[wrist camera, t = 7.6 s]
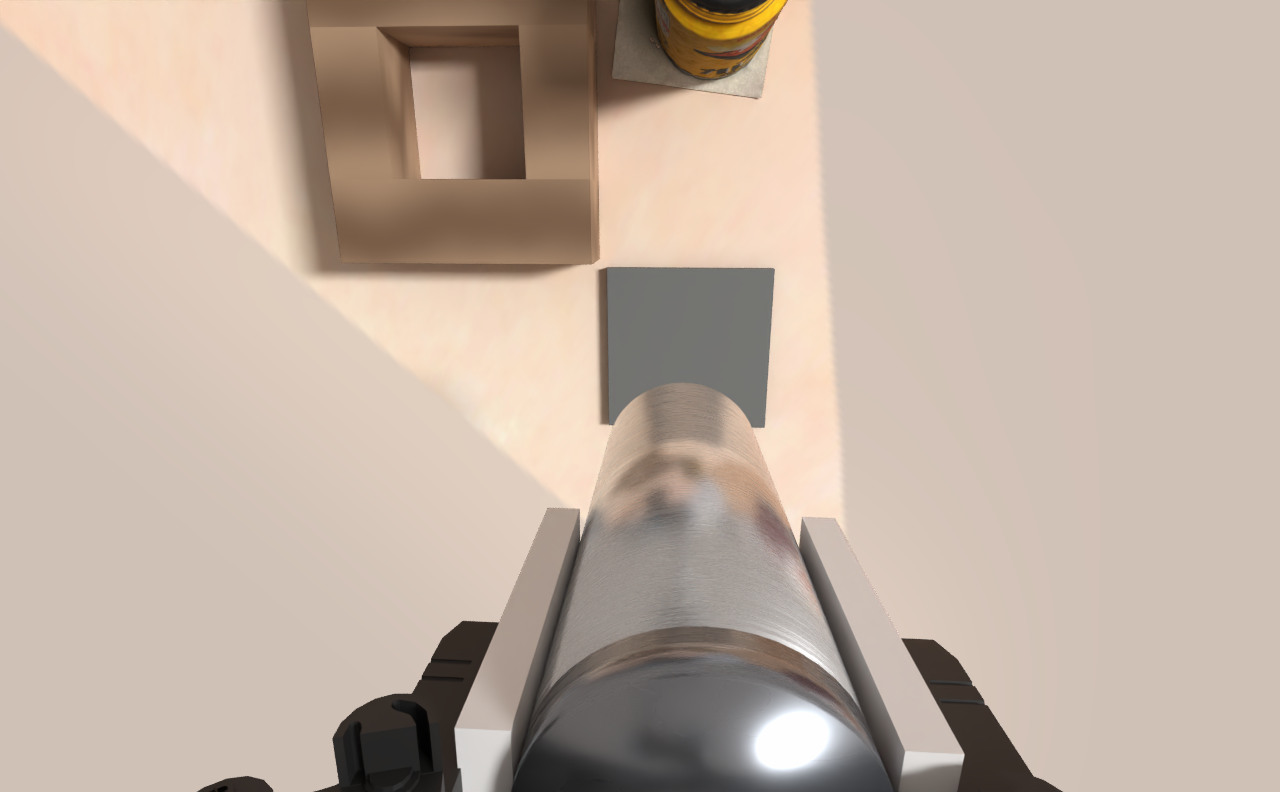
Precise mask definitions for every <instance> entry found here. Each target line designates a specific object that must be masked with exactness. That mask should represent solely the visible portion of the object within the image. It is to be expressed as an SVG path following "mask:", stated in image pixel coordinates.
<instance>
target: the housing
mask: <svg viewBox="0 0 1280 792" xmlns="http://www.w3.org/2000/svg"><path fill="white" fill-rule="evenodd" d="M306 5H307V12H308V20H309V27H310V34H311V42H312V49H313V57H314V64H315V71H316V79H317V86H318V94H319V101H320V108H321V116H322V123H323V130H324V138H325V145H326V153H327V160H328V167H329V175H330V182H331V190H332V197H333V204H334V212H335V219H336V227H337V234H338V241H339V249H340V256H341V263H442V264H593V263H595V262H596V261H597V260H599V259H600V246H599V185H598V123H597V62H596V1H595V0H306ZM444 46H520V63H521V84H522V105H523V125H524V146H525V167H526V179H421V175H420V165H419V154H418V143H417V133H416V122H415V112H414V101H413V91H412V80H411V70H410V59H409V49H408V47H444Z"/></svg>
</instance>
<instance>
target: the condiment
mask: <svg viewBox="0 0 1280 792" xmlns="http://www.w3.org/2000/svg"><path fill="white" fill-rule="evenodd" d="M787 1H788V0H620V3H619V13H618V16H619V18H618V23H617V33H616V41H615V52H614V60H613V70H612V78H613V79H621V80H629V81H635V82H644V83H651V84H659V85H667V86H673V87H680V88H687V89H694V90H702V91H709V92H717V93H724V94H731V95H739V96H746V97H755V98H762V91H763V85H764V80H765V74H766V68H767V61H768V55H769V49H770V44H771V37H772V31H773V26H774V23H775V21H776V19H777V18H778V15H779V14H780V12H781V10H782V9H783V7H784V6H785V5H786V3H787ZM650 37H652V38H653V39H654V43H652V42H651V41H650ZM656 44H659V46H660V48H657V47H656Z"/></svg>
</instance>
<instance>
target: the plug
mask: <svg viewBox="0 0 1280 792" xmlns="http://www.w3.org/2000/svg"><path fill="white" fill-rule="evenodd" d="M511 792H894V791H893V788H892V785H891V783H890V780H889V778H888V775H887V773H886V770H885V768H884V765H883V762H882V760H881V757H880V755H879V752H878V750H877V747H876V744H875V742H874V739H873V737H872V734H871V732H870V729H869V727H868V724H867V721H866V719H865V716H864V714H863V711H862V709H861V706H860V704H859V701H858V698H857V696H856V693H855V691H854V688H853V686H852V683H851V680H850V678H849V675H848V673H847V670H846V668H845V665H844V663H843V660H842V657H841V655H840V652H839V650H838V647H837V645H836V642H835V639H834V637H833V634H832V632H831V629H830V627H829V624H828V622H827V619H826V616H825V614H824V611H823V609H822V606H821V604H820V601H819V599H818V596H817V593H816V591H815V588H814V586H813V583H812V581H811V578H810V575H809V573H808V570H807V568H806V565H805V563H804V560H803V558H802V555H801V552H800V550H799V547H798V545H797V542H796V540H795V537H794V535H793V532H792V529H791V527H790V524H789V522H788V519H787V517H786V514H785V511H784V509H783V506H782V504H781V501H780V499H779V496H778V494H777V491H776V488H775V486H774V483H773V481H772V478H771V476H770V473H769V471H768V468H767V465H766V463H765V460H764V458H763V455H762V453H761V450H760V447H759V445H758V442H757V440H756V437H755V435H754V432H753V430H752V427H751V425H750V423H749V421H748V419H747V418H746V416H745V414H744V413H743V412H742V410H741V409H740V408H739V407H738V406H737V405H736V404H735V403H734V402H733V401H732V400H731V399H729V398H728V397H726V396H725V395H724V394H722V393H720V392H718V391H716V390H714V389H712V388H709V387H706V386H703V385H698V384H693V383H671V384H665V385H662V386H658V387H655V388H653V389H650V390H648V391H646V392H644V393H642V394H641V395H639V396H638V397H636V398H635V399H634V400H633V401H631V402H630V403H629V404H628V405H627V406H626V407H625V408H624V409H623V411H622V412H621V413H620V415H619V416H618V418H617V420H616V421H615V423H614V425H613V428H612V431H611V433H610V437H609V440H608V444H607V448H606V451H605V455H604V458H603V462H602V466H601V469H600V473H599V476H598V480H597V483H596V487H595V491H594V494H593V498H592V501H591V505H590V509H589V512H588V516H587V519H586V523H585V527H584V531H583V534H582V537H581V541H580V545H579V548H578V552H577V555H576V559H575V563H574V566H573V570H572V573H571V577H570V581H569V584H568V588H567V591H566V595H565V599H564V602H563V606H562V609H561V613H560V617H559V620H558V624H557V627H556V631H555V634H554V638H553V642H552V645H551V649H550V652H549V656H548V660H547V663H546V667H545V670H544V674H543V678H542V681H541V685H540V688H539V692H538V696H537V699H536V703H535V706H534V710H533V714H532V717H531V721H530V724H529V728H528V732H527V735H526V739H525V742H524V746H523V750H522V753H521V757H520V760H519V764H518V767H517V771H516V775H515V778H514V782H513V785H512V789H511Z"/></svg>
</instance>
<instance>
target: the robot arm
mask: <svg viewBox="0 0 1280 792" xmlns="http://www.w3.org/2000/svg"><path fill="white" fill-rule="evenodd" d="M579 545H580V509H566V508H547V511H546V513H545V515H544V518H543V520H542V522H541V525H540V527H539V530H538V532H537V534H536V537H535V539H534V541H533V544H532V546H531V549H530V551H529V553H528V555H527V558H526V560H525V563H524V565H523V567H522V570H521V572H520V574H519V577H518V579H517V581H516V584H515V586H514V589H513V591H512V593H511V596H510V598H509V600H508V603H507V605H506V607H505V610H504V612H503V615H502V617H501V619H500V622H499V623H497V622H475V621H462V622H461V623H460V624H459V625H458V626H456V627H455V628H454V629H453V630H451V631H450V632H449V633H448V634H447V635H445V636H444V637H443V638H442V640H441V641H440V643H439V645H438V647H437V649H436V651H435V653H434V654H433V656H432V658H431V663H429V664H428V666H427V667H426V669H425V671H424V673H423V675H422V679H421V680H419V682H418V684H417V686H416V688H415V689H414V691H413V693H412V694H392V695H388V696H384V697H381V698H377V699H374V700H372V701H370V702H368V703H366V704H365V705H363V706H361V707H359V708H357V709H356V710H355V711H353V712H352V713H351V714H350V715H349V716H348V717H347V718H346V719H345V720H344V721H342V722H341V724H340V726H339V727H338V729H337V731H336V733H335V734H334V736H333V745H334V752H335V759H336V765H337V772H338V779H339V784H337V785H335V786H332V787H329V788H325V789H322V790H319V791H315V792H511V789H512V785H513V782H514V778H515V775H516V771H517V767H518V764H519V760H520V757H521V753H522V750H523V746H524V742H525V739H526V735H527V732H528V728H529V724H530V721H531V717H532V714H533V710H534V706H535V703H536V699H537V696H538V692H539V688H540V685H541V681H542V678H543V674H544V670H545V667H546V663H547V660H548V656H549V652H550V649H551V645H552V642H553V638H554V634H555V631H556V627H557V624H558V620H559V617H560V613H561V609H562V606H563V602H564V599H565V595H566V591H567V588H568V584H569V581H570V577H571V573H572V570H573V566H574V563H575V559H576V555H577V552H578V548H579ZM799 550H800V552H801V555H802V558H803V560H804V563H805V565H806V568H807V570H808V573H809V575H810V578H811V581H812V583H813V586H814V588H815V591H816V593H817V596H818V599H819V601H820V604H821V606H822V609H823V611H824V614H825V616H826V619H827V622H828V624H829V627H830V629H831V632H832V634H833V637H834V639H835V642H836V645H837V647H838V650H839V652H840V655H841V657H842V660H843V663H844V665H845V668H846V670H847V673H848V675H849V678H850V680H851V683H852V686H853V688H854V691H855V693H856V696H857V698H858V701H859V704H860V706H861V709H862V711H863V714H864V716H865V719H866V721H867V724H868V727H869V729H870V732H871V734H872V737H873V739H874V742H875V744H876V747H877V750H878V752H879V755H880V757H881V760H882V762H883V765H884V768H885V770H886V773H887V775H888V778H889V780H890V783H891V785H892V788H893V791H894V792H1062V791H1061V790H1059V789H1057V788H1056V787H1054V786H1053V785H1051V784H1049V783H1047V782H1046V781H1044V780H1042V779H1039V778H1036V777H1034V776H1033V775H1032V773H1031V772H1030V770H1029V769H1028V767H1027V766H1026V764H1025V763H1024V761H1023V760H1022V758H1021V756H1020V755H1019V753H1018V752H1017V750H1016V749H1015V747H1014V746H1013V744H1012V743H1011V741H1010V740H1009V738H1008V737H1007V735H1006V733H1005V732H1004V730H1003V729H1002V727H1001V726H1000V724H999V723H998V721H997V720H996V718H995V716H994V715H993V714H992V712H991V710H990V709H989V707H988V706H987V705H985V704H984V700H983V698H982V696H981V695H980V693H979V692H978V690H977V689H976V687H975V686H972V681H971V680H970V678H969V677H968V675H967V673H966V672H965V670H964V669H963V667H962V666H961V664H960V663H959V661H958V660H957V659H956V658H955V657H954V656H953V655H951V654H950V653H949V652H948V651H946V650H945V649H944V648H943V647H942V646H940V645H939V644H938V643H937V642H936V641H934V640H925V639H902V638H900V636H899V634H898V632H897V630H896V628H895V627H894V625H893V623H892V621H891V619H890V617H889V616H888V614H887V612H886V610H885V608H884V606H883V605H882V603H881V601H880V599H879V597H878V596H877V594H876V592H875V590H874V588H873V586H872V585H871V583H870V581H869V579H868V577H867V575H866V574H865V572H864V570H863V568H862V567H861V565H860V563H859V561H858V559H857V557H856V556H855V554H854V552H853V550H852V548H851V546H850V545H849V543H848V541H847V539H846V537H845V535H844V534H843V532H842V530H841V528H840V526H839V524H838V523H837V521H836V519H835V518H814V517H802V523H801V534H800V544H799ZM198 792H273V789H272V788H271V787H270V786H269V785H268V784H267V783H266V782H265V781H264V780H262V779H258V778H253V777H249V776H245V777H237V778H229V779H225V780H222V781H220V782H217V783H215V784H212V785H209V786H207V787H204V788H202V789H201V790H199V791H198Z"/></svg>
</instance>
